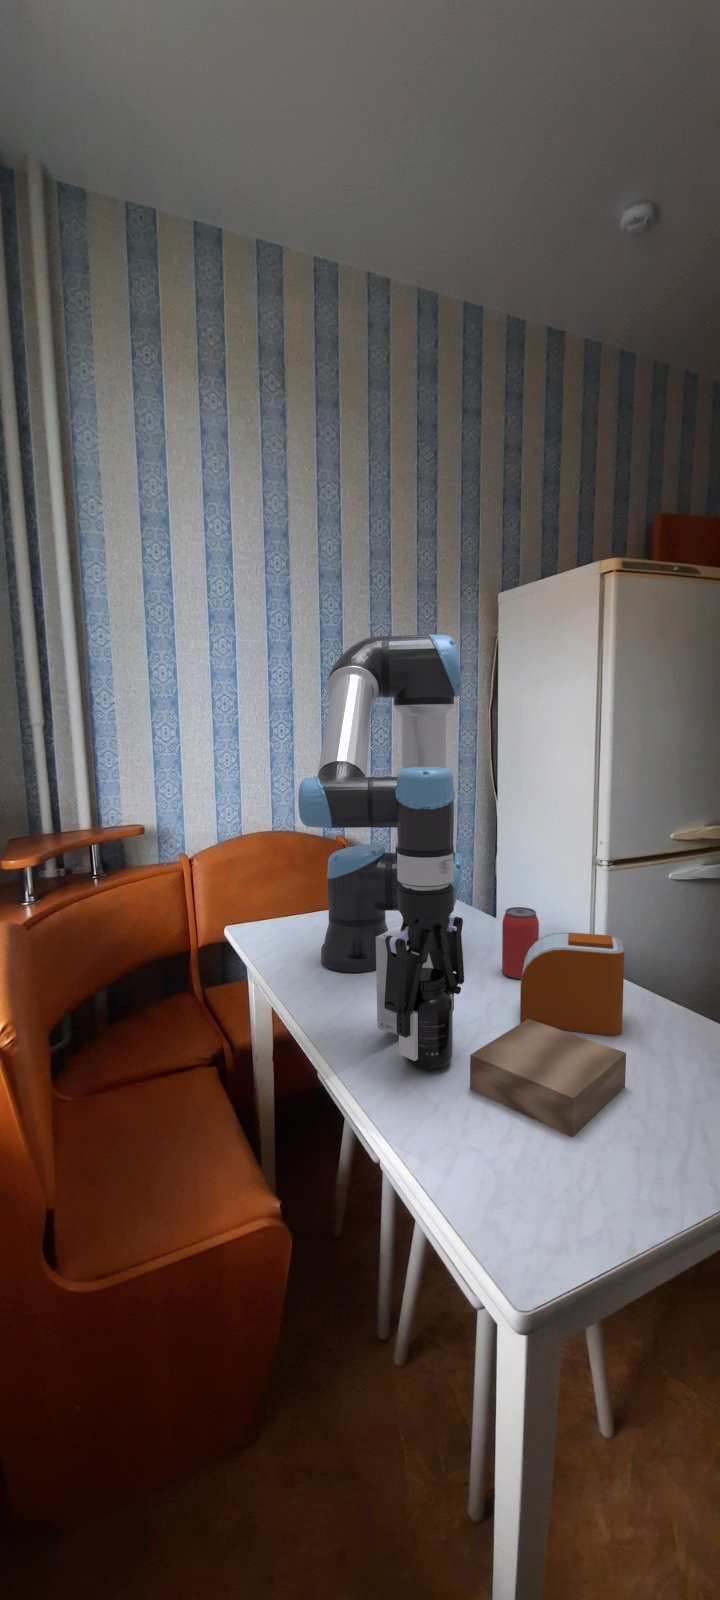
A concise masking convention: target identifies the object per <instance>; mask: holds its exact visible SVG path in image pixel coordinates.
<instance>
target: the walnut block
mask: <svg viewBox="0 0 720 1600" xmlns="http://www.w3.org/2000/svg"><path fill="white" fill-rule="evenodd" d="M469 1063H470V1064H469V1065H470V1066H469V1090H471V1091H473V1092H475V1093H477V1094H480V1095H482V1096H484V1097H486V1098H488V1099H491V1100H493V1101H495V1102H496V1103H499V1104H501V1105H503V1106H505V1107H508V1108H510V1109H511V1110H514V1111H516V1112H518V1113H520V1114H523V1116H526V1117H528V1118H531V1119H534V1120H535V1121H537V1122H540V1123H542V1124H544V1125H545V1126H548V1127H550V1128H553V1129H555V1130H556V1131H559V1132H561V1133H563V1134H566V1135H568V1136H570V1137H571V1138H573V1137H574V1136H575V1135H576V1134H578V1132H579V1131H580V1130H582V1129H583V1128H584V1127H585V1126H586V1125H587V1124H588V1123H589V1122H591V1120H593V1118H594V1117H596V1115H597V1114H599V1113H600V1112H601V1110H602V1109H604V1108H605V1107H606V1106H607V1105H608V1104H609V1103H610V1102H611V1101H613V1099H614V1098H615V1097H616V1096H618V1094H619V1093H620V1092H621V1091H623V1090H624V1089H625V1088H626V1069H627V1068H626V1066H627V1052H626V1051H625V1052H624V1051H623V1050H619V1049H616V1048H613V1047H610V1046H608V1045H605V1044H602V1043H599V1042H596V1041H593V1040H591V1039H587V1038H585V1037H582V1036H579V1035H576V1034H573V1033H570V1032H569V1031H565V1030H559V1029H556V1028H553V1027H551V1026H548V1025H545V1024H542V1023H539V1022H536V1021H533V1020H530V1019H527V1020H525V1021H524V1022H522V1023H521V1024H520V1023H519V1024H517V1025H516V1026H514V1027H512V1028H511V1029H510V1030H507V1031H506V1032H505V1033H503V1034H501V1035H500V1036H498V1037H497V1038H495V1039H493V1040H492V1041H490V1042H488V1043H487V1044H485V1045H484V1046H482V1047H480V1048H479V1049H477V1050H475V1051H474V1052H473V1053H471V1054H470V1055H469Z"/></svg>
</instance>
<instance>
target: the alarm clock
mask: <svg viewBox="0 0 720 1600" xmlns="http://www.w3.org/2000/svg"><path fill="white" fill-rule="evenodd" d="M624 976H625V948H624V944H623V941H622V939H620V938H619V937H615V936H612V935H606V934H596V933H595V934H594V933H583V932H582V933H581V932H571V931H570V932H555V933H554V932H553V933H550V934H547V935H544V936H542V937H541V938H539V940H538V941H536V942H535V943H534V944H533V945H532V946H531V948H530V949H529V951H528V953H527V955H526V957H525V961H524V967H523V973H522V979H520V986H519V987H520V999H519V1001H520V1002H519V1003H520V1005H519V1009H520V1010H519V1015H520V1016H519V1024H521V1023H522V1022H524V1021H525V1020H527V1019H530V1020H533V1021H536V1022H539V1023H542V1024H545V1025H548V1026H551V1027H553V1028H556V1029H559V1030H562V1031H565V1032H574V1033H575V1032H576V1033H583V1034H591V1035H592V1034H593V1035H599V1036H606V1037H607V1036H608V1037H609V1036H610V1037H612V1036H613V1037H616V1036H619V1035H621V1034H622V1031H623V1015H624V1014H623V1011H624V980H625V979H624Z"/></svg>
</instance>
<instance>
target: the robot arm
mask: <svg viewBox="0 0 720 1600" xmlns="http://www.w3.org/2000/svg"><path fill="white" fill-rule="evenodd" d="M457 647H458V646H457V644H456V641H455V640H454V638H452V636H450V635H447V634H431V633H428V634H411V635H389V636H388V635H386V636H383V635H377V636H376V635H375V636H371V637H367V638H364V639H363V640H360V641H359V642H357V643H355V644H354V645H352V646H351V647H349V648H348V649H347V650H346V651H345V652H344V653H343V654H341V656H340V657H339V658H338V659H337V660H336V661H335V662H334V665H333V666H332V669H331V670H330V672H329V675H328V678H327V679H328V680H327V683H326V684H327V686H326V692H327V695H328V698H329V707H328V710H327V711H328V712H327V716H326V723H325V728H324V729H325V730H324V736H323V740H322V747H321V752H320V758H319V765H318V768H317V769H318V770H317V775H316V776H315V775H314V776H312V777H305V778H303V779H302V780H301V782H300V784H299V786H298V796H297V797H298V798H297V799H298V801H297V802H298V804H297V805H298V814H299V819H300V822H301V823H302V824H303V825H304V826H306V827H308V828H320V829H329V830H330V829H350V828H353V829H354V828H356V829H358V828H375V829H376V828H377V829H379V828H385V829H386V828H389V829H390V828H393V829H394V828H395V829H396V831H397V832H396V833H397V836H396V837H397V838H396V839H397V841H396V843H395V851H394V852H387V851H386V848H385V846H384V845H383V844H378V843H377V844H373V843H371V844H359V845H354V846H348V847H344V848H341V849H338V850H336V851H334V852H333V853H331V854H330V856H329V857H328V861H327V873H326V878H327V892H328V893H327V896H328V900H327V901H328V925H327V929H326V932H325V937H324V941H323V942H324V943H323V944H322V946H321V949H320V958H321V959H320V962H321V961H322V962H321V963H322V964H323V965H324V966H325V967H327V968H328V969H332V970H333V971H339V972H343V973H344V972H345V973H367V972H374V971H376V937H377V936H379V935H381V934H383V933H385V932H387V931H388V930H389V929H388V926H387V922H386V919H387V918H386V911H390V912H391V911H393V912H394V911H395V912H396V911H397V912H399V914H401V916H402V924H401V925H402V926H401V925H400V926H401V932H400V933H399V934H397V935H396V936H394V937H393V936H387V937H386V939H385V943H386V948H387V953H388V954H387V970H386V986H385V1002H384V1007H385V1009H387V1010H389V1011H392V1012H394V1013H396V1015H397V1034H398V1035H397V1036H398V1054H399V1055H400V1056H403V1057H404V1056H405V1057H407V1058H409V1059H411V1060H413V1061H415V1060H417V1059H418V1012H416V1011H413V1009H414V1004H415V999H416V995H417V990H418V985H419V981H420V976H421V972H422V967H423V964H424V963H426V962H427V958H428V954H429V955H430V958H431V962H432V966H433V968H434V969H438V970H440V971H442V972H443V973H444V975H445V984H446V988H445V990H446V991H447V992H448V993H449V994H450V996H451V998H452V1008H453V1011H454V1009H455V995H460V994H461V992H462V987H461V986H459V985H463V984H464V982H465V970H464V969H465V968H464V955H463V940H462V938H463V937H462V930H463V924H464V919H463V918H462V917H461V916H460V917H459V916H456V915H452V913H453V912H454V910H455V906H456V903H457V900H458V895H459V889H460V883H461V874H462V873H461V872H462V870H461V868H462V855H461V853H459V852H457V851H455V846H454V845H455V843H454V829H455V828H454V827H455V826H454V824H455V802H454V801H455V797H456V791H455V785H454V784H455V783H454V774H453V771H452V770H451V769H449V768H447V715H448V713H449V712H450V711H451V710H452V708H453V707H454V706H455V699H454V698H458V697H460V696H461V695H462V693H463V692H462V690H463V689H462V687H463V686H462V675H461V674H462V673H461V666H460V659H459V658H460V657H459V654H458V652H459V651H458V648H457ZM378 698H393V708H394V709H395V710H396V711H397V712H398V713H399V714H400V716H401V753H402V754H401V762H402V763H401V765H402V766H401V769H400V770H399V771H398V772H397V775H396V776H367V772H368V771H367V769H368V757H369V745H370V732H371V721H372V720H371V719H372V709H373V705H374V704H375V702H376V700H377V699H378ZM411 951H413V952H415V953H419V955H416V954H413V953H412V952H411ZM454 972H455V973H454ZM405 1002H406V1003H405ZM405 1057H404V1058H405Z"/></svg>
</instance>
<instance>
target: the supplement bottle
mask: <svg viewBox="0 0 720 1600" xmlns="http://www.w3.org/2000/svg"><path fill="white" fill-rule="evenodd" d="M445 988H446V984H445V975H444V973H443V972H442V971H440V970H438V969H434V968H422V972H421V976H420V981H419V985H418V990H417V995H416V999H415V1004H414V1009H413V1011H416V1012H418V1059H417V1060H415V1061H413V1060H411V1059H409V1058H407V1057H405V1056H403V1058H404V1059H405V1060H406V1061H407V1062H408V1063H409V1064H410V1065H412V1066H414V1067H417V1068H421V1069H428V1070H429V1069H430V1070H432V1069H433V1070H434V1069H438V1068H442V1067H444V1066H445V1065H448V1063H450V1061H451V1060H452V1058H453V1054H454V1053H453V1049H454V1048H453V1046H454V1041H453V1039H454V1038H453V1036H454V1035H453V1034H454V1032H453V1031H454V1029H453V1027H454V1021H453V1020H454V1014H453V1013H454V1010H453V1008H452V998H451V996H450V994H449V993H448V992H447V991H446V990H445ZM405 1003H406V1002H405Z"/></svg>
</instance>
